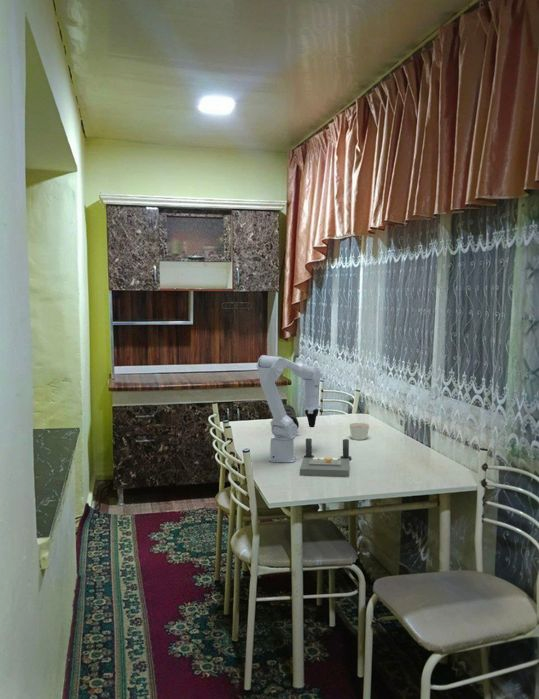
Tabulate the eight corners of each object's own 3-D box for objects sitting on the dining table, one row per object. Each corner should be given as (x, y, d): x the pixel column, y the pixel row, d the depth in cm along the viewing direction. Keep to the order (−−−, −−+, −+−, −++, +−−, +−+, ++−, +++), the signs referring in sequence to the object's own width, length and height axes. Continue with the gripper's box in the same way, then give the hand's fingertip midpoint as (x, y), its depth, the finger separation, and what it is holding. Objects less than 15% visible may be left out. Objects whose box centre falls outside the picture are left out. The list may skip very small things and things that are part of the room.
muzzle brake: (279, 437, 271) (278, 415, 270) (276, 423, 299) (276, 403, 298) (299, 436, 272) (299, 415, 270) (294, 422, 299) (294, 403, 298)
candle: (367, 441, 261) (367, 427, 260) (347, 440, 264) (347, 426, 263) (370, 436, 269) (370, 423, 268) (351, 435, 272) (351, 422, 271)
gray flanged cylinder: (303, 459, 235) (302, 440, 234) (304, 456, 239) (303, 437, 239) (313, 460, 234) (313, 440, 234) (314, 456, 239) (314, 437, 238)
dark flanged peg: (340, 460, 233) (340, 441, 232) (340, 457, 237) (340, 438, 236) (351, 461, 232) (351, 441, 231) (351, 457, 237) (351, 438, 236)
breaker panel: (300, 475, 216) (299, 463, 215) (303, 464, 229) (303, 452, 229) (348, 476, 213) (348, 464, 212) (349, 465, 227) (349, 453, 226)
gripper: (320, 398, 237) (320, 431, 239) (322, 392, 252) (322, 422, 253) (302, 398, 238) (303, 430, 240) (305, 392, 253) (306, 422, 254)
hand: (311, 426), depth 247 cm, fingers closed
